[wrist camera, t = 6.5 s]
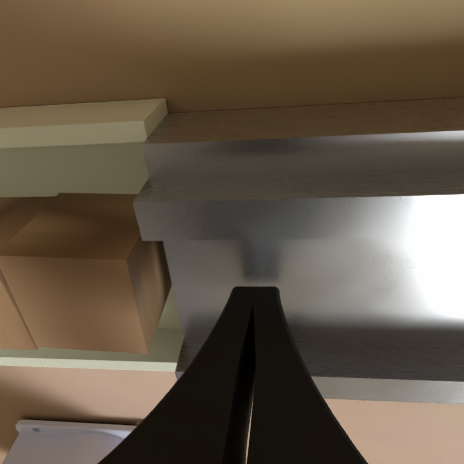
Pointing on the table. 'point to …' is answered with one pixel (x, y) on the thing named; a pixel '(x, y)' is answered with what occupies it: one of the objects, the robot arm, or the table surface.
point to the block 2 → (88, 275)
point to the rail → (322, 235)
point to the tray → (85, 181)
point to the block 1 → (3, 303)
